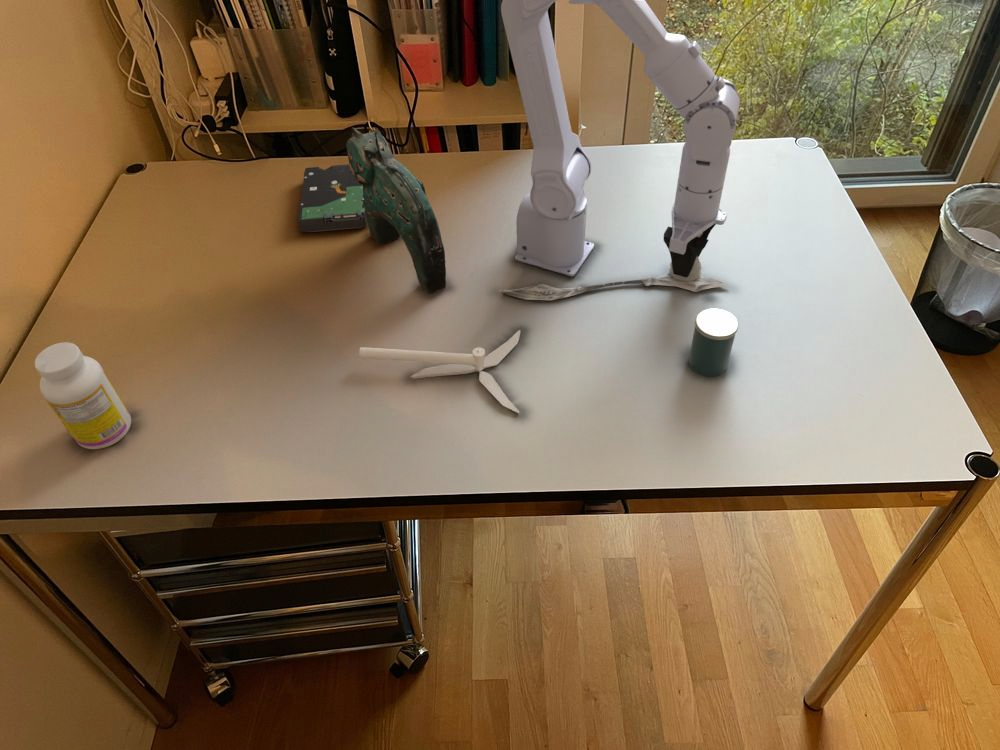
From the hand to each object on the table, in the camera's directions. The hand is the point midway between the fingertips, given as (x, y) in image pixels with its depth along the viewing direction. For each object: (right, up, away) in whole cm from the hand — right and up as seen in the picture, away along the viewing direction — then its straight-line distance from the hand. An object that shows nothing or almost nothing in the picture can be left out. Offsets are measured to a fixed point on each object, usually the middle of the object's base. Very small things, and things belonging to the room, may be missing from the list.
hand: (686, 265), depth 109 cm
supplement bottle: (-74, -22, -14) cm, 79 cm away
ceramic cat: (-40, +2, +7) cm, 40 cm away
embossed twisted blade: (-10, -4, 0) cm, 11 cm away
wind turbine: (-33, -14, -9) cm, 37 cm away
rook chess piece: (0, -1, +1) cm, 2 cm away
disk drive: (-52, +12, +17) cm, 56 cm away
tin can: (0, -14, -10) cm, 17 cm away
